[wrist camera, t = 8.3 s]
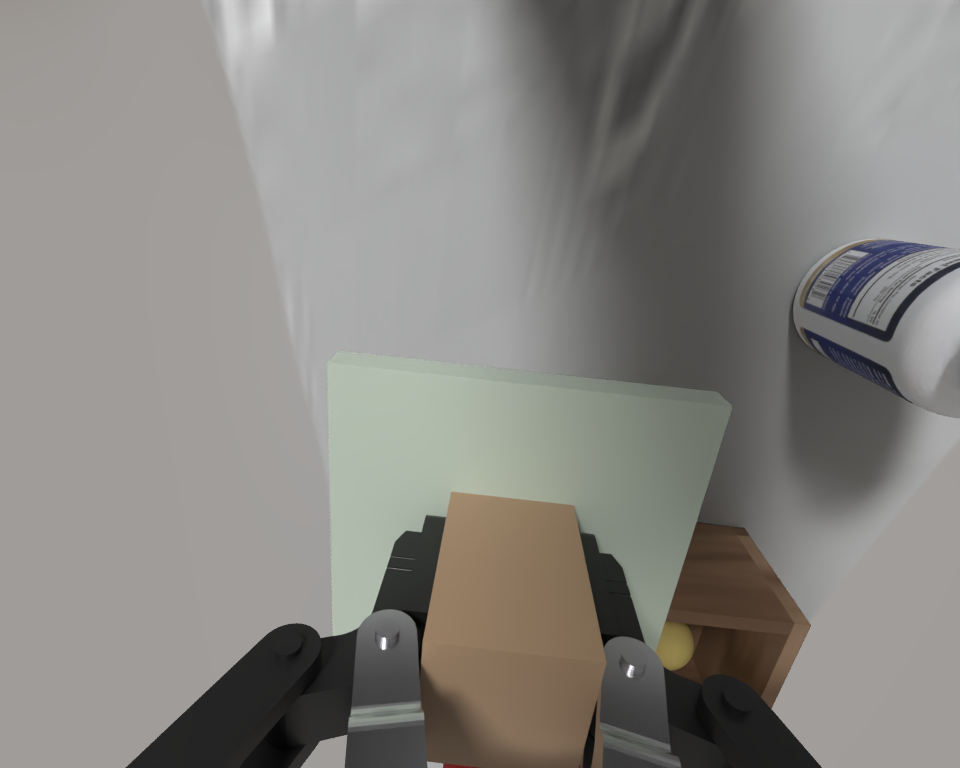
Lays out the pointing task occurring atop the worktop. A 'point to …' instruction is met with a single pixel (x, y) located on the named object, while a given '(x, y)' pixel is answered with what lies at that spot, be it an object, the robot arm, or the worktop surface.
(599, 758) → the robot arm
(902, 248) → the pill bottle
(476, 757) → the lid
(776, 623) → the box
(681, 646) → the ball mustard
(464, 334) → the worktop surface
